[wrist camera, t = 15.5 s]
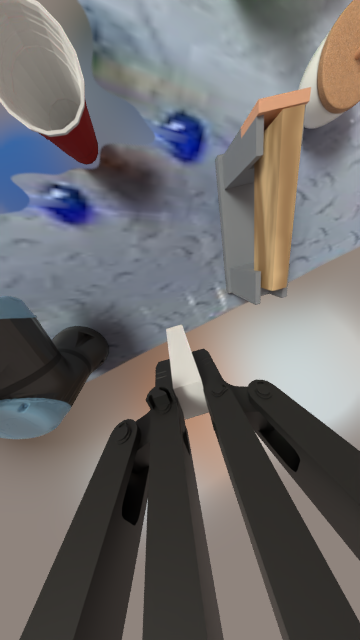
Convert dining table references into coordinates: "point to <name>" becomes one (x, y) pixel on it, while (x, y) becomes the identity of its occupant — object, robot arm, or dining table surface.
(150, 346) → the dining table surface
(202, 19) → the dining table surface
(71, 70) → the plastic cup
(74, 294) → the dining table surface
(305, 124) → the lidded jar
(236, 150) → the stand
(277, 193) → the slat
